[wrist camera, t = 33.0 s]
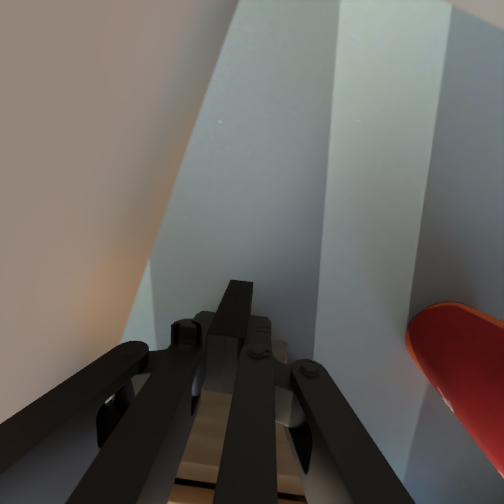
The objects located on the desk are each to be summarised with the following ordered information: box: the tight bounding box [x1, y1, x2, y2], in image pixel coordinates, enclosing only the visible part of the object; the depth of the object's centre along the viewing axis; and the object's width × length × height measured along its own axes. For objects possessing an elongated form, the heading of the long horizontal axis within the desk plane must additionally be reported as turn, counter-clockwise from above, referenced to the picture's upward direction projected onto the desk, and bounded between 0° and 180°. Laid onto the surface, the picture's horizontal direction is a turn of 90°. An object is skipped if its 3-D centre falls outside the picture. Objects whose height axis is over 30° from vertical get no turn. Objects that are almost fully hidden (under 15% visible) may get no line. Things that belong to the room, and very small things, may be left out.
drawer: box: [174, 341, 307, 502], centre depth 18 cm, size 19×11×8 cm, turn 175°
